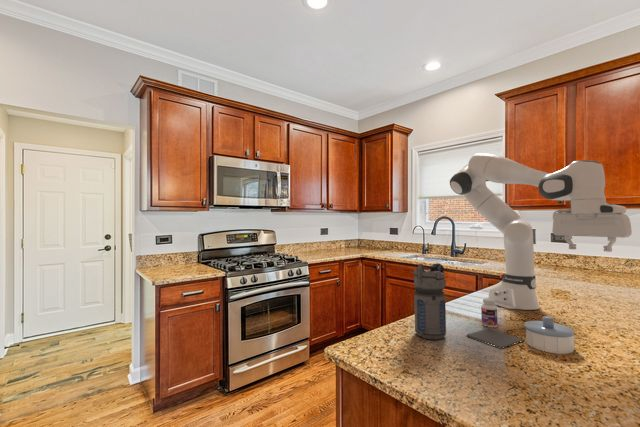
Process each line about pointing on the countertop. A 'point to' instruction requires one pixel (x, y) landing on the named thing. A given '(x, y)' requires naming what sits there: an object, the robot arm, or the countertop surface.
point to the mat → (495, 338)
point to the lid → (549, 328)
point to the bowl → (550, 343)
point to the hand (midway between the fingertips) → (589, 250)
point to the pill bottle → (489, 313)
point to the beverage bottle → (430, 302)
